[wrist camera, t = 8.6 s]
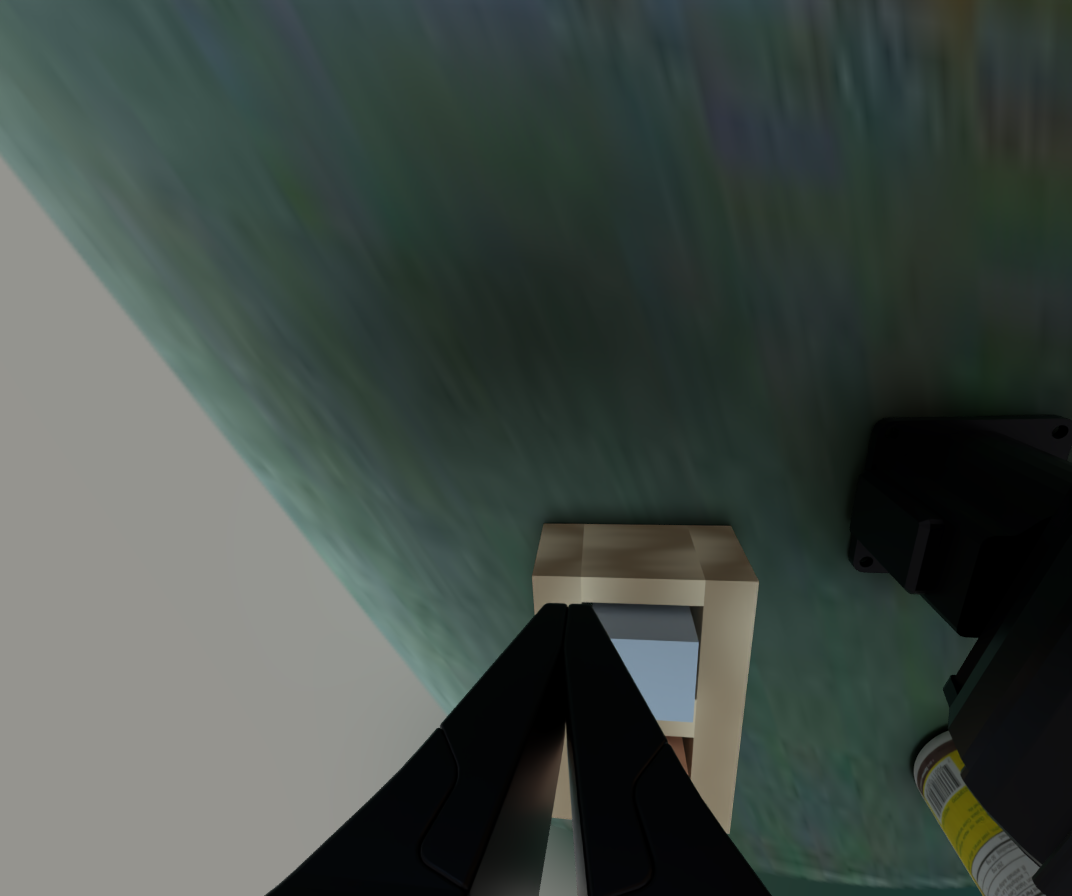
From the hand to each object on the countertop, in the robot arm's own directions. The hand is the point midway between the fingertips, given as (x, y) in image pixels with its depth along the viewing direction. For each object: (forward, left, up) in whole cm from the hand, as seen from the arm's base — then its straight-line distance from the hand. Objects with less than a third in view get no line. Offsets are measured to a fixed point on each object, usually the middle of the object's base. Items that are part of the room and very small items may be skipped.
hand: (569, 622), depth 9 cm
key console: (-2, +11, -12) cm, 16 cm away
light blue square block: (-2, +8, -9) cm, 12 cm away
